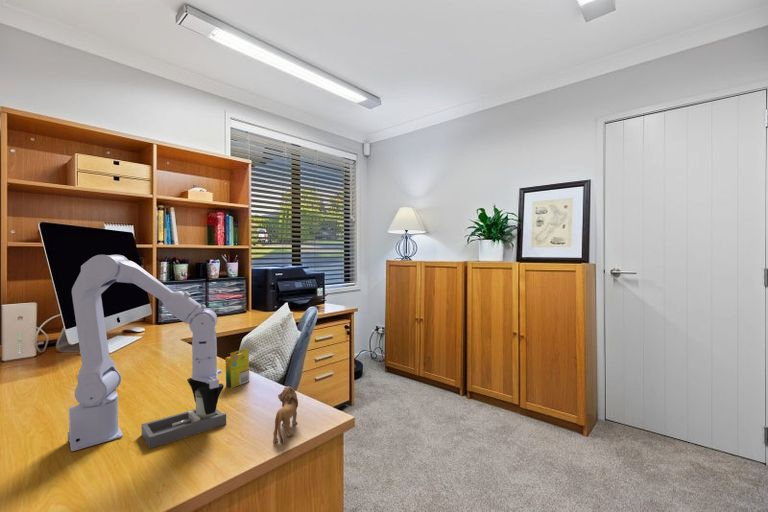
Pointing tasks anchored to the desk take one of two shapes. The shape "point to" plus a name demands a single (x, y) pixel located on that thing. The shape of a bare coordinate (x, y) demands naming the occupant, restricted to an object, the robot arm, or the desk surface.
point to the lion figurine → (286, 412)
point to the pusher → (192, 418)
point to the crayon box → (237, 368)
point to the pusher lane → (178, 428)
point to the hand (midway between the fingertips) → (205, 408)
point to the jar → (201, 407)
